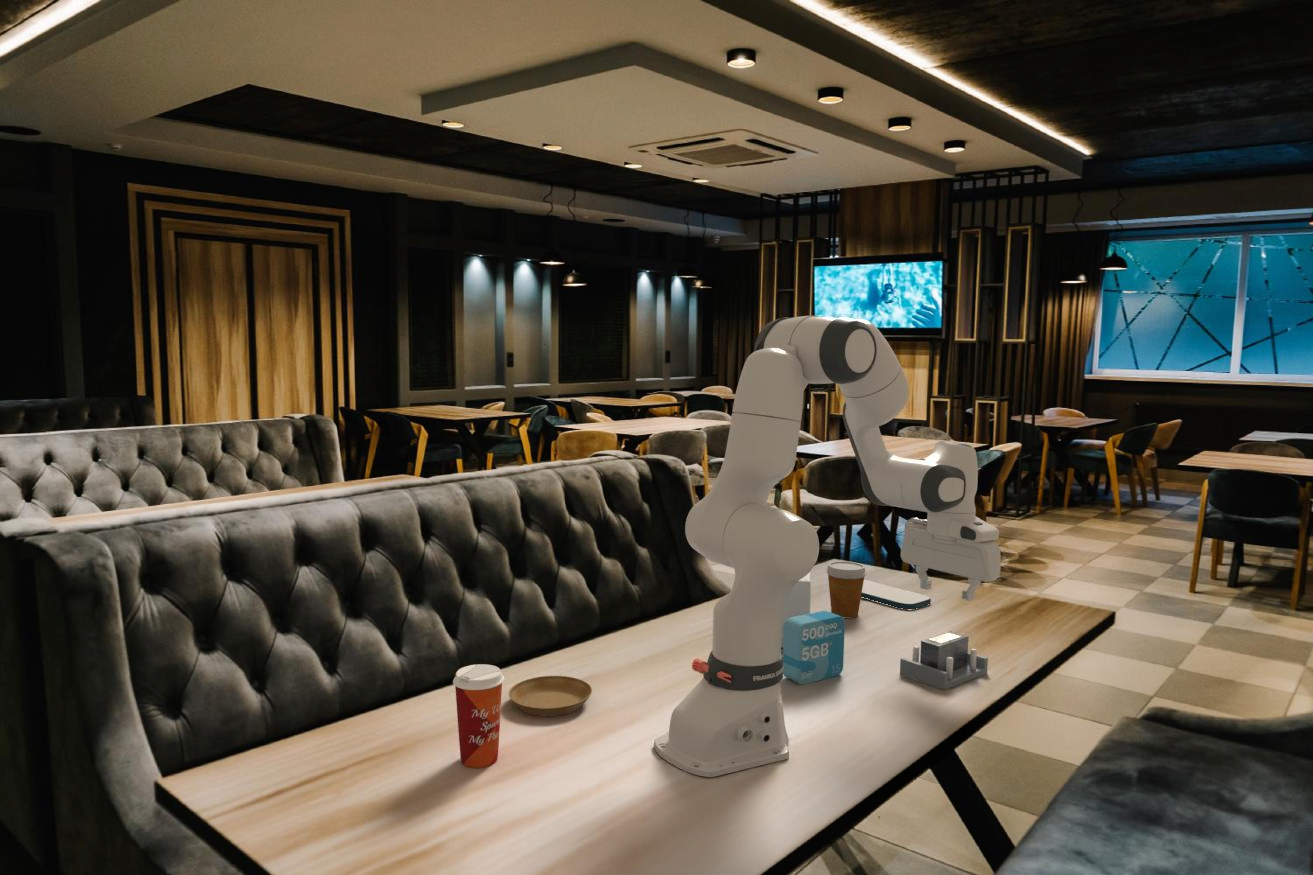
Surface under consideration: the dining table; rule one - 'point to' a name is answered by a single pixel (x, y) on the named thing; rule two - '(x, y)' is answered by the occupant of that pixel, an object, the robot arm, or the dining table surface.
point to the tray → (942, 678)
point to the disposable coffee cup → (845, 587)
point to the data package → (813, 647)
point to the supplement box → (797, 601)
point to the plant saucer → (550, 695)
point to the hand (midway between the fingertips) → (946, 594)
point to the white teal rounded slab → (894, 595)
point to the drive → (945, 650)
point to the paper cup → (478, 713)
